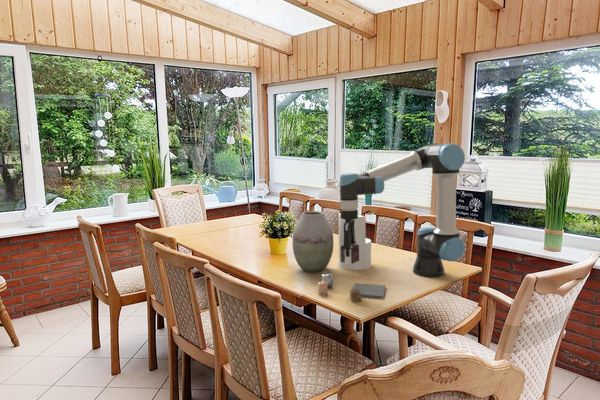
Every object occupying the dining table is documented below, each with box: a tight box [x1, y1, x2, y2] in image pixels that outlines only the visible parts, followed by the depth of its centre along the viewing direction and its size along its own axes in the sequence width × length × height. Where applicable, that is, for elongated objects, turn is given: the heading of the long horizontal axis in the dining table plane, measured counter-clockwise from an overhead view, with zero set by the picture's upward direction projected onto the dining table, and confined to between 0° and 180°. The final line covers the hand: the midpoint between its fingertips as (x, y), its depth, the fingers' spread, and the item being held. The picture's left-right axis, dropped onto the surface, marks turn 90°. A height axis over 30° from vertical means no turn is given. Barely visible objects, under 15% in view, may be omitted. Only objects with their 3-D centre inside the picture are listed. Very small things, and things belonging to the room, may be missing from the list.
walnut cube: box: [349, 289, 362, 303], centre depth 177 cm, size 4×4×4 cm
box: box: [341, 244, 359, 264], centre depth 184 cm, size 6×6×7 cm
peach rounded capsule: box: [317, 280, 328, 296], centre depth 185 cm, size 4×4×5 cm
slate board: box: [351, 282, 387, 300], centre depth 187 cm, size 14×14×1 cm
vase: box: [292, 210, 335, 274], centre depth 219 cm, size 21×21×30 cm
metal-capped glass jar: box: [321, 272, 334, 290], centre depth 194 cm, size 5×5×6 cm
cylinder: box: [338, 212, 372, 271], centre depth 225 cm, size 17×17×28 cm
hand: (349, 260), depth 185 cm, fingers closed on box, 8 cm apart
